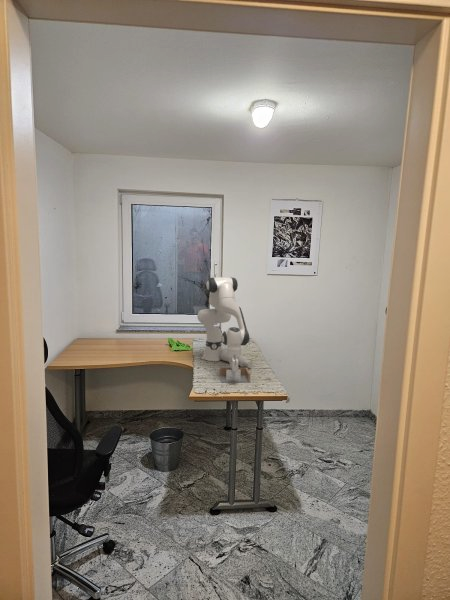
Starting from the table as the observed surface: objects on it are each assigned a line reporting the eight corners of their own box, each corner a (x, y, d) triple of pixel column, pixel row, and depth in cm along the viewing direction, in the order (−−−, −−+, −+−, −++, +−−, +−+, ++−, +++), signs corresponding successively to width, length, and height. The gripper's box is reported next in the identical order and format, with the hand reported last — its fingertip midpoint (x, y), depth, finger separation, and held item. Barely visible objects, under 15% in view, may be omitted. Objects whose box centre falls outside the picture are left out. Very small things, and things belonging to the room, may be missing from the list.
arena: (219, 376, 237) (220, 367, 236) (247, 375, 238) (247, 367, 238) (221, 382, 224) (221, 373, 223) (250, 382, 226) (250, 373, 225)
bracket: (240, 378, 231) (240, 369, 230) (240, 380, 227) (241, 371, 226) (226, 378, 230) (226, 369, 229) (226, 380, 226) (226, 371, 226)
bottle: (216, 356, 272) (243, 367, 249) (222, 345, 274) (249, 355, 251) (224, 361, 277) (251, 372, 254) (229, 351, 279) (256, 361, 256)
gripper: (240, 357, 218) (240, 380, 219) (237, 349, 238) (236, 369, 240) (230, 357, 217) (230, 380, 219) (227, 349, 238) (227, 370, 239)
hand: (233, 374), depth 229 cm, fingers open, 3 cm apart
